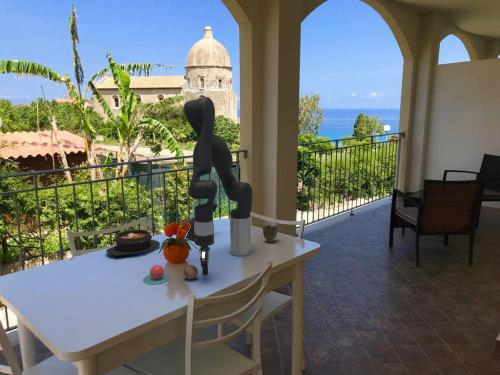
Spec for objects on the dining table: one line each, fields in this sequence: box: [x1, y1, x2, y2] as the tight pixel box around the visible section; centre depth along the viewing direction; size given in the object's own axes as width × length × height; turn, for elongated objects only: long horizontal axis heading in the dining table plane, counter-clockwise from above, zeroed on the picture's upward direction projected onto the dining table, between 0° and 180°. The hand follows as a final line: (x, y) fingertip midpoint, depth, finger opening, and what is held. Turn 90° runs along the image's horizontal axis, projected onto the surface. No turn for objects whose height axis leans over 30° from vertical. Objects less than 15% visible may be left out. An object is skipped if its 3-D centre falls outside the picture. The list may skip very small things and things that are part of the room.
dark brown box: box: [183, 202, 219, 243], centre depth 200 cm, size 16×11×18 cm
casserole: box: [105, 229, 161, 257], centre depth 180 cm, size 25×19×8 cm
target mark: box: [142, 273, 170, 286], centre depth 149 cm, size 10×10×1 cm
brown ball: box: [183, 264, 199, 281], centre depth 149 cm, size 6×6×6 cm
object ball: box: [149, 264, 165, 280], centre depth 149 cm, size 6×6×6 cm
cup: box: [262, 224, 278, 244], centre depth 192 cm, size 8×7×8 cm
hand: (205, 274), depth 150 cm, fingers closed
